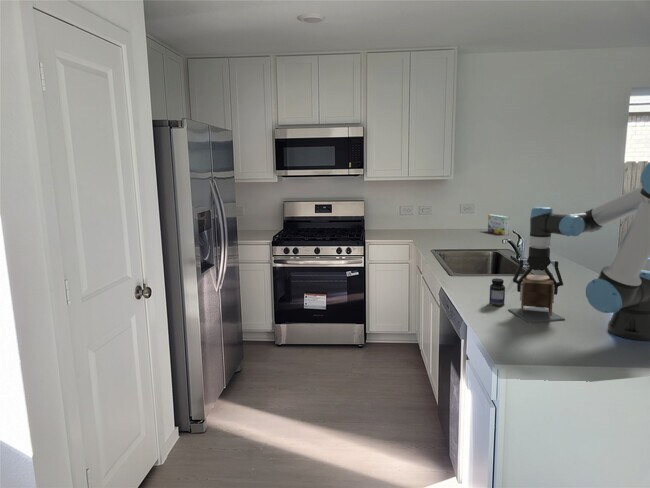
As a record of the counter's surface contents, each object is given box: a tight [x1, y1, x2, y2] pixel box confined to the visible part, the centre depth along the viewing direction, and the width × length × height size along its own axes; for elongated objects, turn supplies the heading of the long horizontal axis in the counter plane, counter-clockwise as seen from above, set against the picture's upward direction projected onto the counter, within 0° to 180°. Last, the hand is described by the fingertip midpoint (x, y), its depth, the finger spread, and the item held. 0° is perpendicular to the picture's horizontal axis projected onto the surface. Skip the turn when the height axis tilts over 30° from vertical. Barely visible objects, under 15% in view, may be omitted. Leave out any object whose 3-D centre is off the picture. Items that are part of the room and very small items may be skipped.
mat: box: [507, 306, 566, 324], centre depth 182 cm, size 15×15×1 cm
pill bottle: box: [488, 277, 506, 307], centre depth 196 cm, size 6×6×11 cm
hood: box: [520, 273, 554, 316], centre depth 181 cm, size 11×11×13 cm
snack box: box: [487, 213, 510, 236], centre depth 381 cm, size 21×6×15 cm, turn 17°
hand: (536, 301), depth 181 cm, fingers closed on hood, 11 cm apart
